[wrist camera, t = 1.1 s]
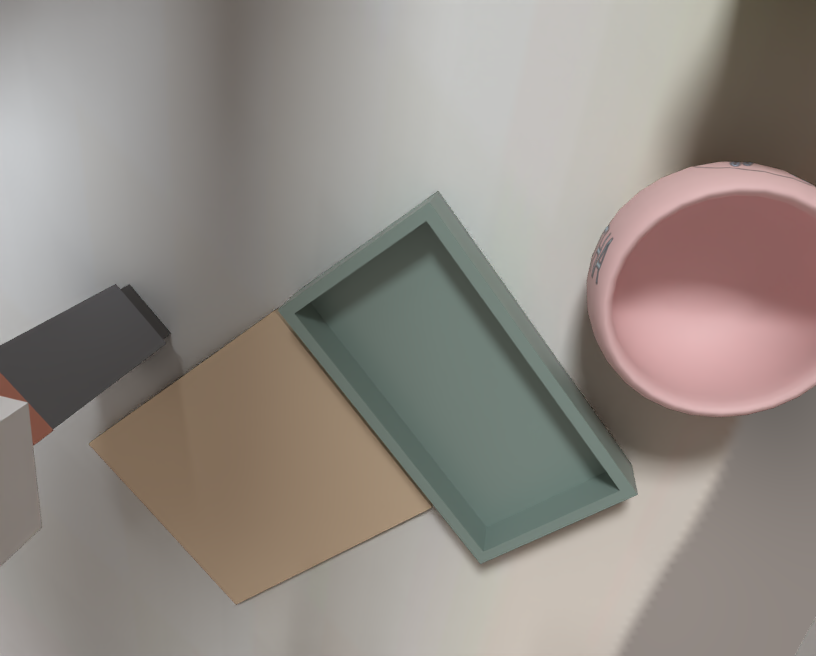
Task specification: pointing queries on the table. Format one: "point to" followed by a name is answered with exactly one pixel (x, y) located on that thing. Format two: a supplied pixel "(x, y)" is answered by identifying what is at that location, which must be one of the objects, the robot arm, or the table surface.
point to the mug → (711, 289)
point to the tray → (460, 384)
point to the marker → (78, 355)
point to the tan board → (260, 463)
